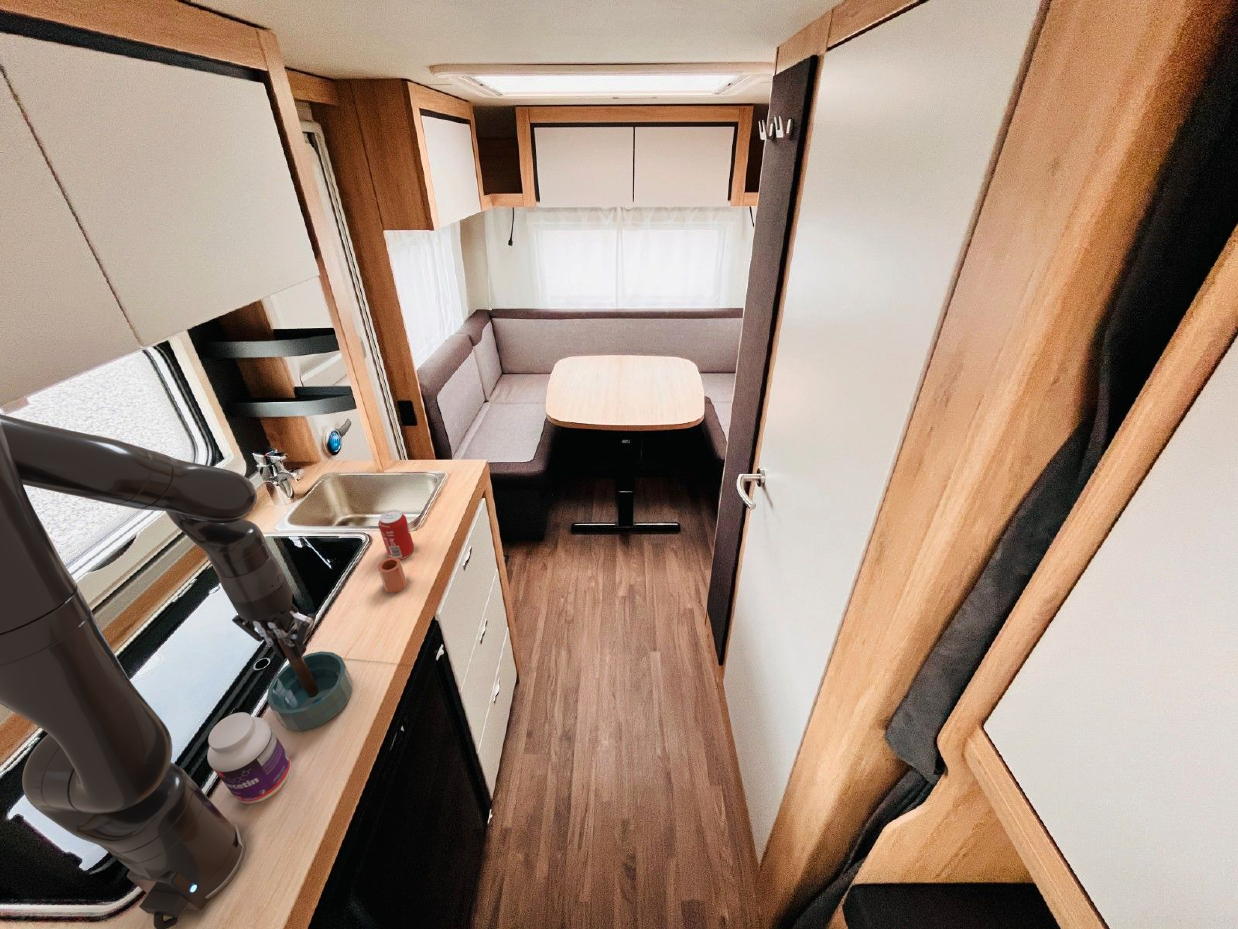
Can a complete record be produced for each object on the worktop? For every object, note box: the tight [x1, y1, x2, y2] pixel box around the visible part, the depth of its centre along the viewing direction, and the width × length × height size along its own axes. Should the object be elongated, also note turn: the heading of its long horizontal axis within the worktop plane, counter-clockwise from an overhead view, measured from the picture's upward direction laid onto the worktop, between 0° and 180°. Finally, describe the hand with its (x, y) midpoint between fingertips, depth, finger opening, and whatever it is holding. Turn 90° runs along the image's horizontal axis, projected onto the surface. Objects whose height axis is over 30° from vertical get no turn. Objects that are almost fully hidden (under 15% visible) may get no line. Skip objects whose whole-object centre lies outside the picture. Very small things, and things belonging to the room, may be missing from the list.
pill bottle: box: [206, 711, 292, 805], centre depth 79 cm, size 8×8×14 cm
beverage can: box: [377, 509, 415, 560], centre depth 125 cm, size 6×6×12 cm
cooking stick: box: [277, 634, 319, 698], centre depth 89 cm, size 2×2×16 cm
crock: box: [377, 557, 408, 594], centre depth 117 cm, size 5×5×7 cm
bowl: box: [266, 651, 354, 732], centre depth 93 cm, size 12×13×6 cm
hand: (293, 654), depth 87 cm, fingers closed on cooking stick, 2 cm apart
